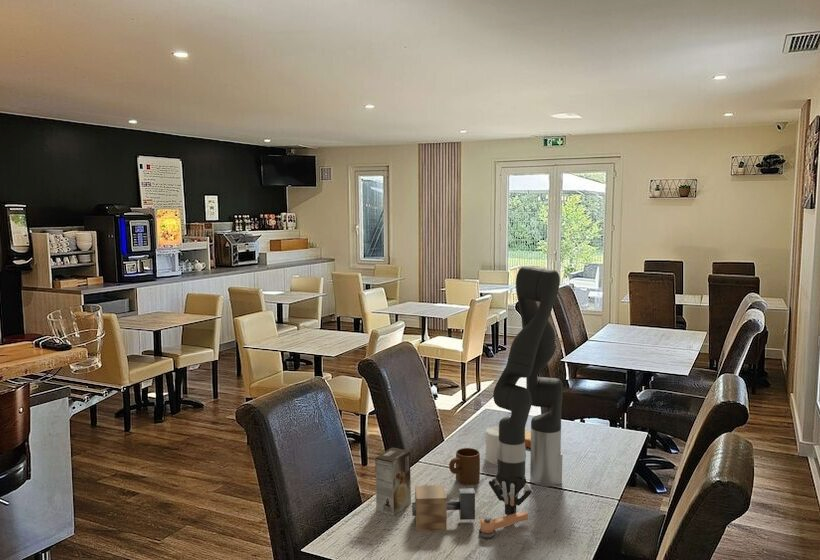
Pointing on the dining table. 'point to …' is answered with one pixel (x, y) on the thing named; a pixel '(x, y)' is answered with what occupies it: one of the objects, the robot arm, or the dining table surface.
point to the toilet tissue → (492, 444)
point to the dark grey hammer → (460, 504)
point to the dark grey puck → (487, 535)
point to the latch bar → (502, 521)
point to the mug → (466, 466)
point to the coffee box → (393, 481)
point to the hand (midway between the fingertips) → (510, 516)
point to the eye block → (431, 507)
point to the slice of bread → (527, 439)
